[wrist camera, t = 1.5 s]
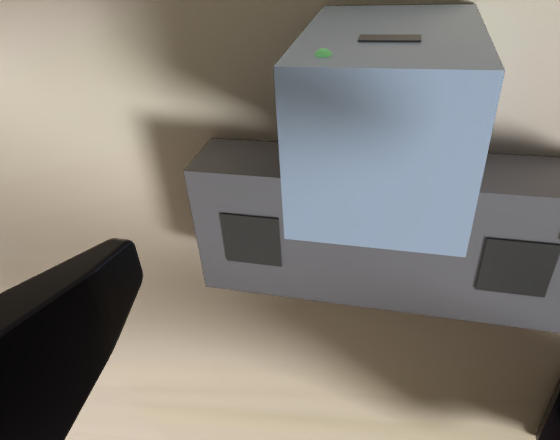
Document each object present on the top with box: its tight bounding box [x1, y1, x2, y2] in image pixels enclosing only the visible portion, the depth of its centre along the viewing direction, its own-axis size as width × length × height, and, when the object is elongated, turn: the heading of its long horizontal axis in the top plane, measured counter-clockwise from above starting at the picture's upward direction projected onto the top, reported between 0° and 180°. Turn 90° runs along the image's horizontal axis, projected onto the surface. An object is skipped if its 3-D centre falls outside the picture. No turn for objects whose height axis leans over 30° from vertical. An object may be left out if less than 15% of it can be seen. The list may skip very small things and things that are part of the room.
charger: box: [274, 4, 505, 257], centre depth 15 cm, size 8×5×7 cm, turn 3°
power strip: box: [184, 138, 560, 333], centre depth 19 cm, size 6×22×3 cm, turn 93°
